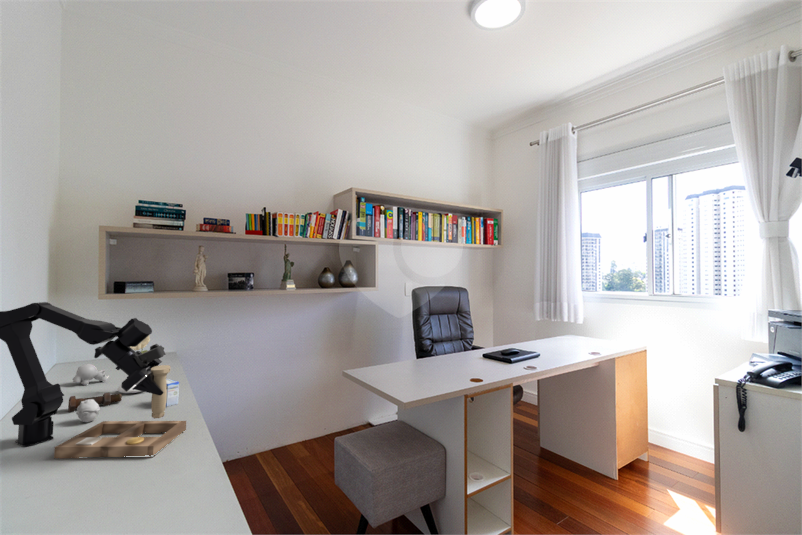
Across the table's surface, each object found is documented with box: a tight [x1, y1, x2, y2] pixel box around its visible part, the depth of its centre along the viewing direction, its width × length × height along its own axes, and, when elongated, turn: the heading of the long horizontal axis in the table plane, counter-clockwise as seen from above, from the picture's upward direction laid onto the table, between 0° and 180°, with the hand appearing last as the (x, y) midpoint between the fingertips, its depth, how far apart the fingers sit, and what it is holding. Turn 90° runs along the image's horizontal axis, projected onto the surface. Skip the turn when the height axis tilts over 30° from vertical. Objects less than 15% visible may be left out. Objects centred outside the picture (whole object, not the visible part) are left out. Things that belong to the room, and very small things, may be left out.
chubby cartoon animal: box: [72, 363, 110, 386], centre depth 167 cm, size 7×12×8 cm, turn 130°
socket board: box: [53, 420, 187, 460], centre depth 109 cm, size 25×18×3 cm
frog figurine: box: [75, 399, 101, 423], centre depth 124 cm, size 6×7×7 cm
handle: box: [150, 364, 171, 419], centre depth 115 cm, size 5×6×15 cm
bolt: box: [67, 392, 123, 413], centre depth 138 cm, size 6×5×15 cm
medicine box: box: [166, 378, 180, 408], centre depth 143 cm, size 8×4×9 cm, turn 62°
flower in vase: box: [117, 334, 151, 394], centre depth 157 cm, size 13×11×25 cm
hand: (164, 391), depth 115 cm, fingers closed on handle, 5 cm apart
